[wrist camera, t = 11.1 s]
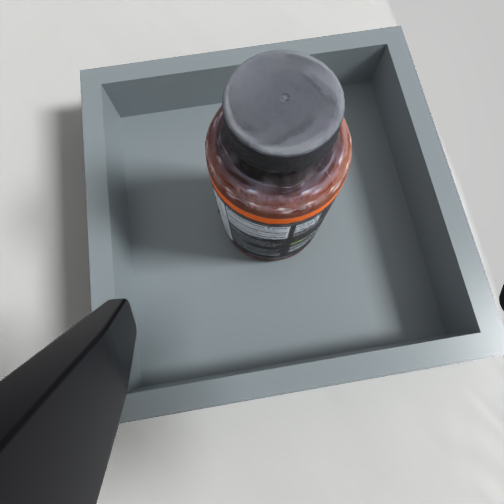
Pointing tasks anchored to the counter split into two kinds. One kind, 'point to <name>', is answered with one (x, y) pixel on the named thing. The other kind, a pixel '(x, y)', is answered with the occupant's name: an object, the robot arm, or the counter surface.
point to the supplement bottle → (278, 152)
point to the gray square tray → (287, 270)
